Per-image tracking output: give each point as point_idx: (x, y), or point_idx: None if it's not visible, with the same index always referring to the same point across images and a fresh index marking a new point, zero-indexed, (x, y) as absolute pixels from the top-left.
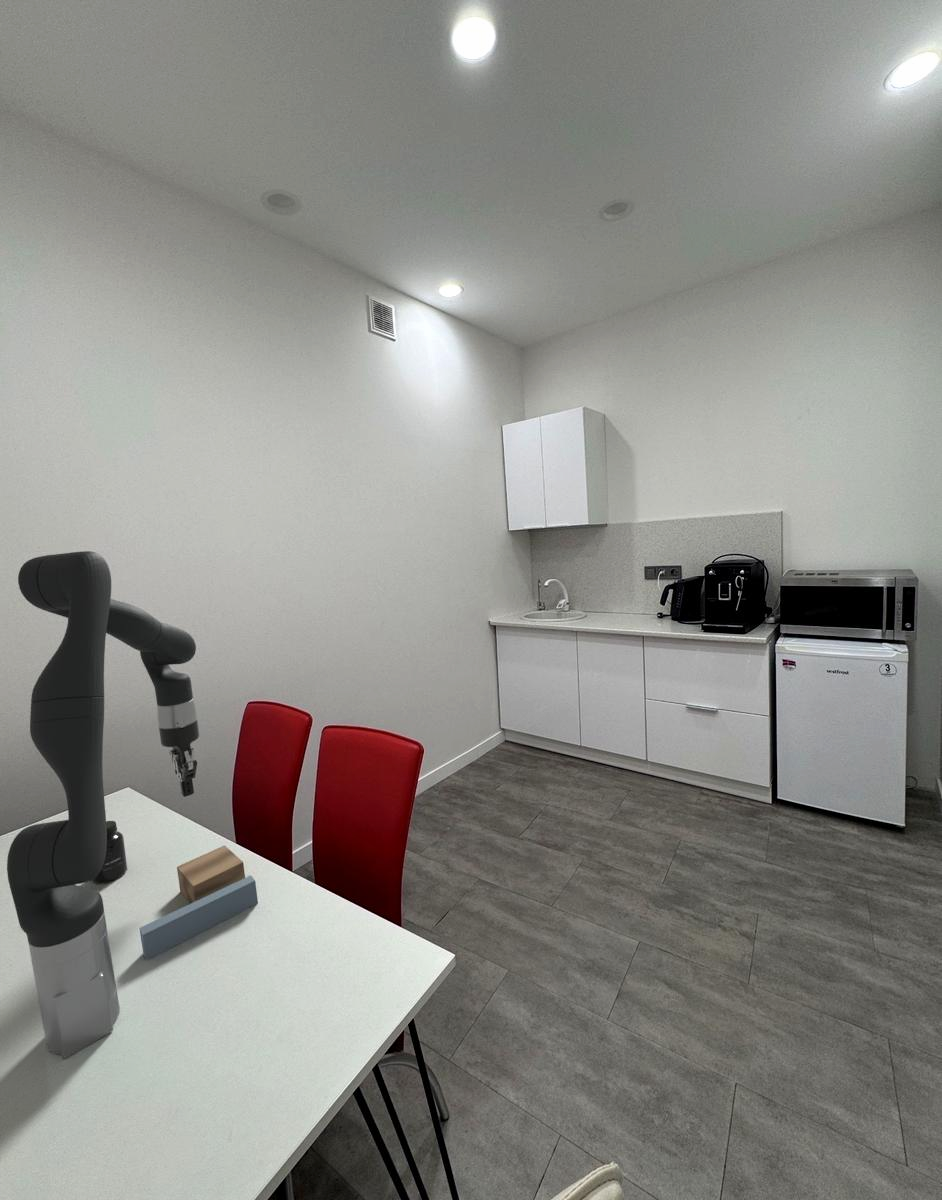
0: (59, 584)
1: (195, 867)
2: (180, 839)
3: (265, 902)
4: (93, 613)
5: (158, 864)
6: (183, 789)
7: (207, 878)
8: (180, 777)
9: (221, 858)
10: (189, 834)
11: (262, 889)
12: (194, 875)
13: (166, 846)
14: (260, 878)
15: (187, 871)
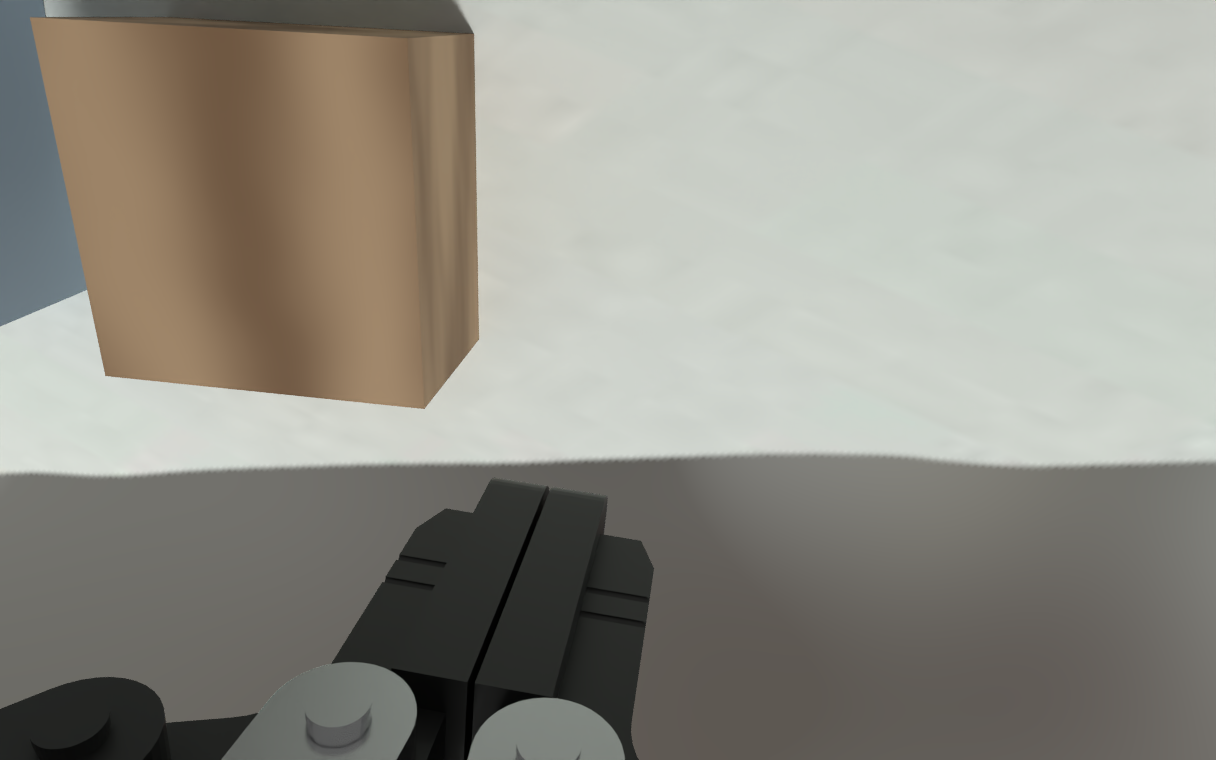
0: None
1: (279, 136)
2: (1190, 322)
3: None
4: None
5: (992, 64)
6: (460, 560)
7: (62, 130)
8: (302, 757)
9: (259, 312)
10: (1188, 393)
11: None
12: (169, 83)
13: (1207, 212)
14: (234, 397)
15: (265, 69)
